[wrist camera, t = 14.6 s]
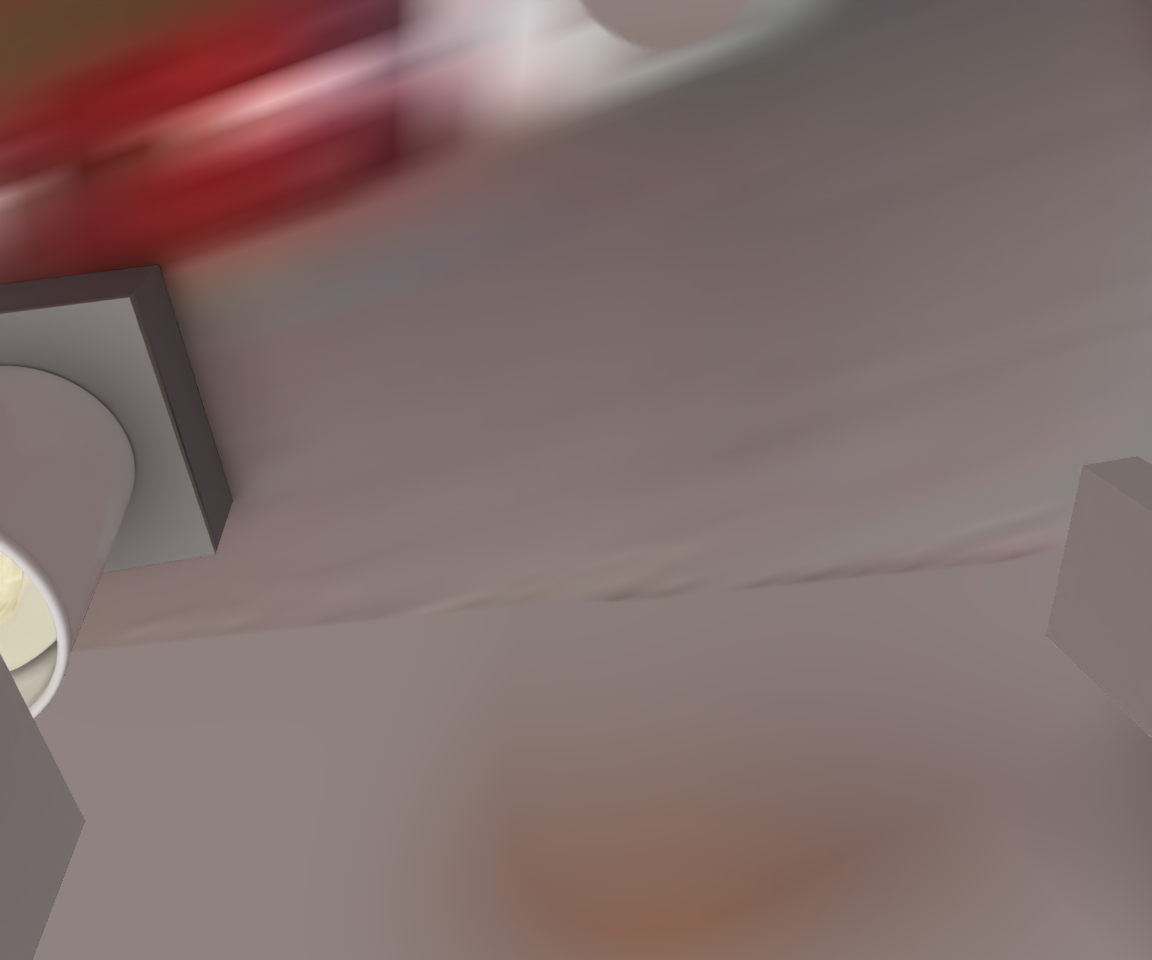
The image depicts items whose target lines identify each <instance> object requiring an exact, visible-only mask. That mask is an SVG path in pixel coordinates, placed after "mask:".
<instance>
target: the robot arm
mask: <svg viewBox="0 0 1152 960" xmlns="http://www.w3.org/2000/svg"><path fill="white" fill-rule="evenodd" d="M1046 636H1047V637H1048V638H1049V639H1050V640H1051V641H1052V642H1053V643H1054V644H1055V645H1056V646H1057V647H1058V648H1059V649H1060V650H1061V651H1062V652H1063V653H1064V654H1065V655H1067V657H1068V658H1069V659H1071V660H1072V661H1073V662H1074V663H1075V664H1076V665H1077V666H1078V667H1079V668H1080V669H1081V670H1082V671H1083V672H1084V673H1085V674H1086V675H1087V676H1088V677H1089V678H1090V679H1091V680H1092V681H1093V682H1094V683H1095V684H1096V685H1097V686H1098V687H1099V688H1100V689H1101V690H1103V692H1104V693H1106V694H1107V695H1108V696H1109V697H1110V698H1111V699H1112V700H1113V701H1114V702H1115V703H1116V704H1117V705H1118V706H1119V707H1120V708H1121V709H1122V710H1123V711H1124V712H1125V713H1126V714H1127V715H1128V716H1129V717H1130V718H1131V719H1132V720H1133V721H1134V722H1135V723H1136V724H1137V725H1138V726H1139V727H1141V728H1142V729H1143V730H1144V731H1145V732H1146V733H1147V734H1148V735H1149V736H1150V737H1151V738H1152V465H1151V464H1149V463H1147V462H1146V461H1144V460H1142V459H1141V458H1139V457H1138V456H1136V457H1130V458H1124V459H1119V460H1113V461H1107V462H1101V463H1095V464H1089V465H1083V467H1082V471H1081V476H1080V481H1079V485H1078V490H1077V494H1076V499H1075V504H1074V508H1073V513H1072V517H1071V522H1070V527H1069V531H1068V536H1067V540H1066V545H1065V550H1064V554H1063V559H1062V564H1061V568H1060V573H1059V577H1058V582H1057V586H1056V591H1055V596H1054V600H1053V605H1052V609H1051V614H1050V619H1049V624H1048V628H1047V633H1046ZM84 822H85V819H84V817H83V815H82V813H81V812H80V810H79V808H78V806H77V804H76V802H75V800H74V798H73V796H72V794H71V792H70V790H69V788H68V786H67V784H66V782H65V780H64V778H63V776H62V774H61V772H60V770H59V768H58V766H57V764H56V762H55V760H54V758H53V756H52V754H51V752H50V750H49V748H48V746H47V744H46V742H45V740H44V738H43V736H42V735H41V733H40V731H39V729H38V727H37V725H36V723H35V721H34V719H33V717H32V715H31V713H30V711H29V709H28V707H27V705H26V703H25V701H24V699H23V697H22V695H21V693H20V691H19V689H18V687H17V685H16V683H15V681H14V679H13V677H12V675H11V673H10V671H9V669H8V667H7V665H6V663H5V662H4V660H3V658H2V656H1V654H0V960H33V957H34V955H35V952H36V949H37V947H38V944H39V941H40V939H41V936H42V933H43V931H44V928H45V926H46V923H47V920H48V918H49V915H50V912H51V909H52V907H53V904H54V902H55V899H56V896H57V894H58V891H59V889H60V886H61V883H62V881H63V878H64V875H65V873H66V870H67V867H68V864H69V862H70V859H71V857H72V854H73V851H74V849H75V846H76V844H77V841H78V838H79V836H80V833H81V830H82V828H83V825H84Z"/></svg>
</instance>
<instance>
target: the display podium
mask: <svg viewBox="0 0 1152 960" xmlns="http://www.w3.org/2000/svg"><path fill="white" fill-rule="evenodd" d="M0 366H20V367H27V368H33V369H37V370H41V371H45V372H48V373H51V374H54V375H57V376H59V377H62V378H64V379H66V380H68V381H70V382H72V383H74V384H76V385H78V386H79V387H81V388H83V389H84V390H86V391H87V392H89V393H90V394H91V395H93V396H94V397H95V398H97V399H98V400H99V401H100V402H101V403H102V404H103V405H104V406H105V407H106V408H107V409H108V410H109V411H110V412H111V413H112V414H113V415H114V417H115V418H116V419H117V421H118V422H119V423H120V425H121V427H122V428H123V430H124V432H125V434H126V436H127V438H128V440H129V442H130V445H131V448H132V451H133V456H134V461H135V482H134V488H133V492H132V496H131V499H130V502H129V505H128V508H127V510H126V513H125V516H124V519H123V521H122V524H121V526H120V529H119V532H118V534H117V537H116V539H115V542H114V544H113V547H112V549H111V552H110V555H109V557H108V560H107V562H106V565H105V567H104V570H103V572H102V573H104V572H111V571H117V570H123V569H129V568H135V567H141V566H147V565H154V564H160V563H166V562H172V561H178V560H184V559H191V558H197V557H203V556H209V555H215V554H216V551H217V548H218V545H219V541H220V538H221V535H222V532H223V529H224V526H225V523H226V520H227V517H228V514H229V511H230V508H231V505H232V497H231V494H230V491H229V488H228V485H227V481H226V478H225V475H224V472H223V469H222V465H221V462H220V459H219V456H218V453H217V449H216V446H215V443H214V440H213V437H212V433H211V430H210V427H209V424H208V421H207V417H206V414H205V411H204V408H203V404H202V401H201V398H200V395H199V392H198V388H197V385H196V382H195V379H194V376H193V372H192V369H191V366H190V363H189V360H188V356H187V353H186V350H185V347H184V344H183V340H182V337H181V334H180V331H179V328H178V324H177V321H176V318H175V315H174V312H173V308H172V305H171V302H170V299H169V296H168V292H167V289H166V286H165V283H164V280H163V276H162V273H161V270H160V267H159V265H152V266H144V267H136V268H128V269H120V270H112V271H104V272H96V273H88V274H80V275H72V276H64V277H56V278H48V279H40V280H32V281H24V282H16V283H8V284H0Z"/></svg>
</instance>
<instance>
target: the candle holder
mask: <svg viewBox="0 0 1152 960" xmlns="http://www.w3.org/2000/svg"><path fill="white" fill-rule="evenodd" d="M134 482H135V461H134V456H133V451H132V448H131V445H130V442H129V440H128V438H127V436H126V434H125V432H124V430H123V428H122V427H121V425H120V423H119V422H118V421H117V419H116V418H115V417H114V415H113V414H112V413H111V412H110V411H109V410H108V409H107V408H106V407H105V406H104V405H103V404H102V403H101V402H100V401H99V400H98V399H97V398H95V397H94V396H93V395H91V394H90V393H89V392H87V391H86V390H84V389H83V388H81V387H79V386H78V385H76V384H74V383H72V382H70V381H68V380H66V379H64V378H62V377H59V376H57V375H54V374H51V373H48V372H45V371H41V370H37V369H33V368H27V367H20V366H0V654H1V656H2V658H3V660H4V662H5V663H6V665H7V667H8V669H9V671H10V673H11V675H12V677H13V679H14V681H15V683H16V685H17V687H18V689H19V691H20V693H21V695H22V697H23V699H24V701H25V703H26V705H27V707H28V709H29V711H30V713H31V715H32V717H33V719H34V718H35V717H36V716H37V715H38V714H39V713H40V712H41V711H42V710H43V709H44V708H45V707H46V706H47V705H48V703H49V702H50V701H51V699H52V698H53V696H54V695H55V693H56V692H57V690H58V688H59V687H60V685H61V683H62V680H63V678H64V676H65V673H66V670H67V666H68V662H69V658H70V653H71V651H72V648H73V646H74V643H75V641H76V638H77V635H78V633H79V630H80V628H81V625H82V623H83V620H84V618H85V615H86V613H87V610H88V608H89V605H90V603H91V600H92V598H93V595H94V592H95V590H96V587H97V585H98V582H99V580H100V577H101V575H102V572H103V570H104V567H105V565H106V562H107V560H108V557H109V555H110V552H111V549H112V547H113V544H114V542H115V539H116V537H117V534H118V532H119V529H120V526H121V524H122V521H123V519H124V516H125V513H126V510H127V508H128V505H129V502H130V499H131V496H132V492H133V488H134Z"/></svg>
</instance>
